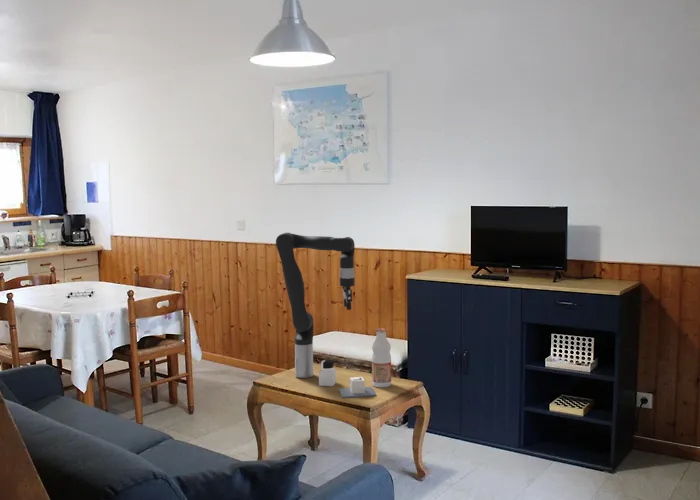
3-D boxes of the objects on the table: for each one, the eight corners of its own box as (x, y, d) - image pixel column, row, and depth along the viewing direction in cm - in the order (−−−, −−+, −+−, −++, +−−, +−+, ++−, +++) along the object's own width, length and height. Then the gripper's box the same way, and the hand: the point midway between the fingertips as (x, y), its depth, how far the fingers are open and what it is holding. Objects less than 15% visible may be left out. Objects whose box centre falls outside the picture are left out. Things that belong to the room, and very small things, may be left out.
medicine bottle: (336, 382, 326) (335, 358, 324) (333, 386, 319) (332, 362, 317) (322, 381, 327) (322, 358, 326) (318, 385, 320) (318, 362, 319)
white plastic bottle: (368, 384, 321) (367, 328, 319) (383, 381, 327) (383, 326, 324) (379, 389, 314) (379, 332, 311) (395, 385, 319) (394, 329, 316)
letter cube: (364, 392, 306) (364, 380, 305) (352, 393, 305) (351, 381, 304) (362, 389, 311) (362, 376, 311) (350, 389, 311) (349, 377, 310)
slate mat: (342, 398, 301) (342, 396, 301) (338, 390, 313) (338, 388, 313) (376, 395, 303) (376, 394, 303) (371, 388, 315) (371, 386, 315)
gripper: (337, 275, 335) (338, 306, 336) (341, 278, 321) (342, 311, 322) (352, 274, 336) (352, 305, 338) (356, 278, 322) (357, 310, 324)
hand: (347, 308), depth 330 cm, fingers open, 8 cm apart
